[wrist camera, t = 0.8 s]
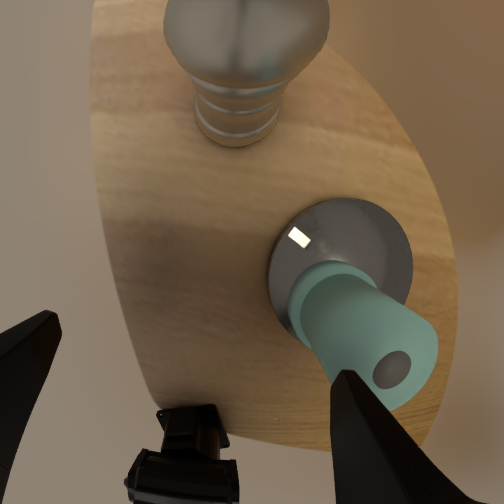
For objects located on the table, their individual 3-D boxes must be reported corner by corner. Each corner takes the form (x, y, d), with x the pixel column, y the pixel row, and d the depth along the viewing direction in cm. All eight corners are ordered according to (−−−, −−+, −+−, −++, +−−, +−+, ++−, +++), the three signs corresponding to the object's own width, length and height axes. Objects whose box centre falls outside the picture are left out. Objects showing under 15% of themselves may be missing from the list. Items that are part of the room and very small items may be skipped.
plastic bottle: (181, 119, 23) (74, -50, 3) (236, 66, 22) (251, -132, 3) (238, 168, 24) (268, 47, 4) (292, 111, 23) (421, -50, 4)
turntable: (409, 323, 26) (416, 328, 25) (281, 360, 26) (284, 368, 24) (398, 188, 24) (406, 187, 22) (252, 214, 23) (254, 215, 22)
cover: (369, 328, 25) (439, 396, 14) (294, 349, 24) (331, 439, 13) (363, 251, 23) (449, 288, 12) (280, 270, 23) (320, 329, 12)
